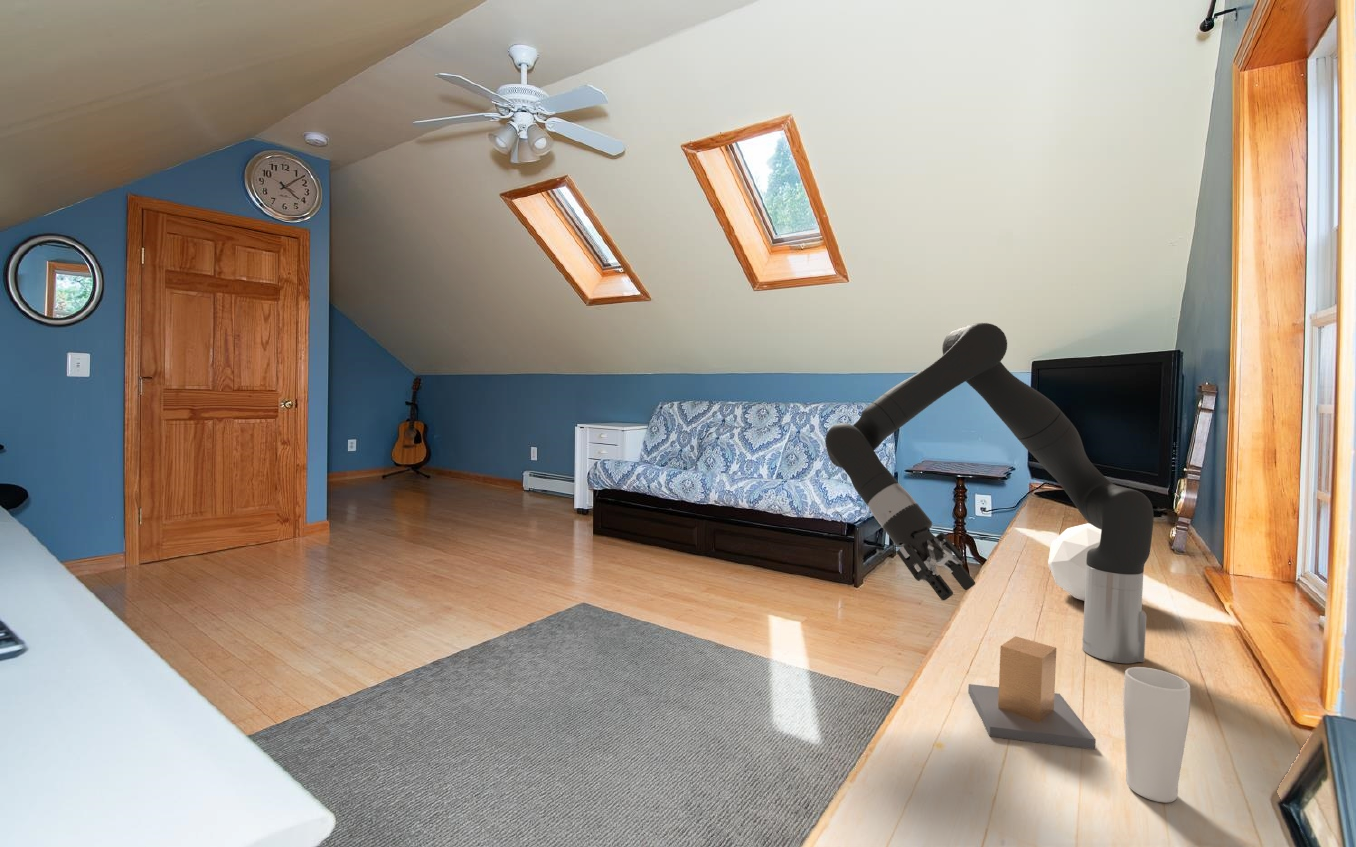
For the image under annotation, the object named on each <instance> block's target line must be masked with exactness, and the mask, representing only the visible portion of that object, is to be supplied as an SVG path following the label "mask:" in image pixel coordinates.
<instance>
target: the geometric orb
mask: <svg viewBox="0 0 1356 847" xmlns="http://www.w3.org/2000/svg"><path fill="white" fill-rule="evenodd" d="M1100 539H1101V529H1099V528H1096V527H1094V526H1093V525H1091V524H1090V523H1089V522H1087V523H1084V524H1079V525H1075V526H1071V527H1068V528H1066V529H1065V530H1064V531H1062V532H1061V533H1060V534H1059V536H1057V537H1056V539H1054V540H1053V541H1052V542H1051V543H1050V549H1049V553H1048V563H1047V567H1048V568H1049V571H1050V573H1051V575H1052V577H1053V579H1054V582H1055V584H1056V585H1057V586H1058V587H1060V588H1061V589H1062V590H1064V591H1065V592H1067V593H1068V594H1070V595H1071V596H1072V597H1073V598H1075V599H1076V600H1077V599H1078V600H1080V601H1084V602H1085V582H1086V560H1087V552H1088V551H1089V550H1090V549H1093V548H1097V547H1098V546H1099V544H1100Z"/></svg>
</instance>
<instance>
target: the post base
mask: <svg viewBox="0 0 1356 847" xmlns="http://www.w3.org/2000/svg"><path fill="white" fill-rule="evenodd" d="M968 695H969V697H970V699H971V701H972V703H973V705H974V708H975V710H976V711H977V713H978V715H979V717H981V718H980V720H981V719H982V720H981V722H982V721H983V722H982V723H983V726H984V728H985V727H986V728H985V730H986V732H987V734H988V735H989V737H991V738H998V739H999V738H1000V739H1007V740H1015V741H1022V742H1031V743H1041V744H1048V745H1055V746H1056V745H1057V746H1065V747H1071V748H1081V749H1088V750H1096V744H1097V742H1096V741H1097V740H1096V739H1097V738H1095V737H1094V735H1093V734H1092V732H1091V731H1090V730H1089V729H1088V728H1087V727H1086V725H1085V724H1084V723H1083V721H1082V720H1081V718H1080V717H1079V716H1078V715H1077V714H1076V712H1075V711H1074V710H1073V709H1072V707H1071V706H1070V705H1069V704H1068V702H1067V700H1065V699H1064V697H1063V695H1061V693H1056V692H1054V710H1053V711H1052V712H1051V713H1050V714H1049V715H1048V716H1047V717H1046V718H1045V719H1044V720H1043V721H1042V722H1041V723H1038V722H1035V721H1032V720H1029V719H1027V718H1024V717H1021V716H1019V715H1016V714H1013V713H1011V712H1008V711H1005V710H1002V709H1000V708H998V699H999V686H993V685H992V686H989V685H983V684H982V685H981V684H972V683H968Z"/></svg>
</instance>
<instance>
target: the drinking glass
mask: <svg viewBox="0 0 1356 847" xmlns="http://www.w3.org/2000/svg"><path fill="white" fill-rule="evenodd" d="M1123 680H1124V681H1123V690H1122V692H1123V693H1122V695H1123V696H1122V698H1123V699H1122V706H1123V709H1122V710H1123V725H1124V729H1123V730H1124V743H1125V744H1124V746H1125V762H1126V763H1125V765H1126V769H1125V781H1126V784H1127V787H1129V788H1130V790H1132V791H1133V792H1134V793H1136V794H1137V795H1139V796H1141V797H1143V798H1145V799H1147V800H1150V801H1153V802H1158V803H1167V804H1168V803H1172V802H1174V801H1176V800H1177V798H1178V795H1179V783H1180V782H1179V781H1180V777H1181V776H1180V775H1181V770H1182V763H1183V758H1184V752H1185V746H1186V741H1187V740H1186V739H1187V735H1188V729H1189V722H1190V715H1191V714H1190V713H1191V685H1190V683H1189V682H1188V681H1187V680H1185V679H1184V678H1182V677H1180V676H1178V675H1176V674H1173V673H1170V672H1168V671H1165V670H1161V669H1158V668H1157V669H1156V668H1151V667H1143V666H1133V667H1132V666H1131V667H1128V668H1126V670H1125V671H1124V679H1123Z"/></svg>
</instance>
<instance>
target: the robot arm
mask: <svg viewBox="0 0 1356 847" xmlns="http://www.w3.org/2000/svg"><path fill="white" fill-rule="evenodd" d="M1007 349H1008V339H1007V336H1006V335H1005V332H1004V331H1003V330H1002V329H1001V328H1000V327H998V326H997V325H995V324H993V323H988V322H977V323H973V324H968V325H965V326H963V327H959V328H957V329H955V330H952V331H951V332H950V333H948V334H947V335H946V337H945V338H944V340H943V343H942V349H941V350H942V355H941V356H940V357H939V358H937V360H935V361H934V362H932V363H931V364H929V365H928V366H927V367H925V368H924V369H922V370H920V371H919V372H917V373H915V374H914V375H912V376H910V377H909V378H907V379H904V380H903V381H901V382H899V383H898V384H896V385H895V386H894V387H891V388H890V389H889V390H887V391H886V392H885V393H883V394H882V395H881V396H879V397H878V398H877V399H875V400H874V401H872V403H870V404H869V405H868V406H866V407H865V408H864V409H863V410H862V413H861V414H860V418H859V419H858V420H857V421H856V422H855V423H854V424H851V423H845V422H841V423H837V424H836V423H835V424H834V425H833V426H831V427H830V428H829V429H828V430H827V433H826V434H825V439H824V442H825V448H826V451H827V455H828V459H829V460H830V461H831V463H832V464H833V465H834V466H835V467H838V468H840V469H843V471H844V472H845V473H846V474H847V475H848V477H849V479H850V481H851V484H852V486H853V488H854V490H855V491H856V492H857V494H858V496H860V497H861V499H862V500H863V502H864V503H865V504H866V506H867V507H868V509H869V510H870V512H871V513H872V516H873V517H874V518H875V520H876V521H877V522H878V524H879V525H880V527H881V528H882V529H883V530H884V531H885V533H886V534H887V536H888V537H889V538H890V539H891V541H892V543H894V544H895V546H896V547H898V548H899V549H897V551H896V554H897V555H898V556H899V558H900V559H901V561H902V562H903V563H904V565H905V566H906V568H907V569H908V571H909V572H910V574H911V575H912V576H913V577H914V579H915V580H916V581H917V582H920V581H921V580H923V581H924V583H928V584H929V585H930V587H931V588H932V590H933V591H934V592H935V594H936V595H937V596H938V597H939V599H940V600H941V601H946V600H948V599H949V598H950V597H952V596H953V595H954V592H953V590H952V588H951V587H950V586H949V585H948V584H947V582H946V581H945V580H944V578H943V577H942V576H941V574H939V572H938V570H937V566H939V567H943V568H945V569H946V570H947V571H949V572H950V573H951V575H952V576H953V578H954V579H955V580H956V581H957V583H958V584H959V586H961V587H962V589H963V590H964V591H968V590H969V589H972V588H973V587H975V585H976V581H975V580H974V579H973V577H972V576H971V575H970V574H969V573H968V571H967V570H966V569H965V568H964V566H963V561H965V557H964V556H963V554H962V553H961V552H960V551H959V550H958V548H957V547H956V546H955V545H954V544H953V542H951V540H950V539H949V537H947V535H945V534H944V533H943V532H940V533H938V534H937V535H934V534H933V532H931V531H930V530H931V528H932V526H933V522H932V520H931V518H930V517H929V516H928V515H927V514H926V512H924V510H923V508H921V506H920V505H919V503H917V501H916V500H915V499H914V498H913V497H912V495H911V494H910V493H909V492H908V490H906V489H905V488H904V487H903V486H902V485H901V484H900V483H899V481H898V480H897V479H896V478H895V477H894V475H893V474H892V473H891V472H890V470H889V469H888V468H886V466H885V465H884V464H883V463H882V461H881V459H879V456H878V455H877V454H876V452H875V451H876V449H877V448H878V447H879V446H880V445H881V444H882V443H883V441H885V440H886V439H887V437H889V436H891V435H892V434H894V433H895V432H896V431H898V430H899V429H901V428H902V427H903V426H904V425H906V424H907V423H908V422H910V421H911V420H912V419H914V418H915V417H916V416H918V415H919V414H920V413H921V412H923V411H924V410H925V409H927V408H928V407H930V406H931V405H932V404H933V403H934V402H936V401H938V400H939V399H941V398H942V397H943V396H945V395H947V393H949V392H951V391H952V390H953V389H955V388H957V387H959V386H960V385H962V384H964V383H967V384H968V385H969V386H970V387H971V388H972V389H974V390H975V392H976V393H978V394H979V395H980V396H981V398H982V399H983V400H984V401H985V402H986V403H987V404H988V406H989V407H990V408H991V409H992V411H993V412H994V413H995V414H996V415H997V416H998V417H999V419H1000V420H1001V421H1002V422H1003V423H1004V424H1005V425H1006V427H1007V428H1008V429H1009V430H1010V431H1011V433H1012V434H1013V435H1014V436H1015V438H1016V439H1017V440H1018V441H1019V442H1020V443H1021V445H1023V447H1024V448H1025V449H1026V450H1027V451H1028V452H1029V453H1030V454H1031V455H1032V456H1033V457H1034V459H1036V460H1037V462H1039V464H1040V465H1041V466H1042V467H1043V469H1045V471H1047V473H1048V474H1050V475H1051V476H1052V478H1054V479H1055V480H1056V481H1057V483H1058V484H1059V485H1060V486H1061V488H1062V489H1063V490H1064V492H1065V493H1066V495H1068V497H1069V499H1070V500H1071V501H1072V503H1073V504H1074V506H1075V507H1076V509H1077V510H1078V512H1079V513H1080V514H1081V516H1082V517H1083V518H1084V519H1085V521H1086V522H1087V523H1089V524H1091V525H1093V526H1094V527H1096V528H1099V529H1101V539H1100V544H1099V546H1098V547H1097V548H1093V549H1090V550H1089V551H1088V552H1087V560H1086V582H1085V601H1084V606H1083V608H1084V609H1083V626H1082V629H1083V630H1082V650H1083V652H1085V653H1086V654H1088V655H1090V656H1092V657H1094V658H1097V659H1100V660H1104V661H1107V662H1112V663H1116V664H1134V663H1145V652H1146V651H1145V650H1146V649H1145V648H1146V631H1147V628H1146V627H1147V613H1146V612H1145V611H1144V610H1143V609H1142V608H1143V592H1144V591H1143V589H1144V570H1145V564H1146V562H1147V561H1148V559H1149V557H1150V554H1151V547H1152V539H1153V538H1152V537H1153V529H1154V519H1155V518H1154V509H1153V505H1152V502H1151V500H1150V499H1149V497H1148V496H1146V494H1144V493H1143V492H1140V491H1139V490H1136V489H1133V488H1130V487H1128V488H1127V487H1124V486H1120V485H1116V484H1114V483H1113V482H1112V481H1110V480H1109V479H1108V478H1107V477H1106V476H1104V474H1102V473H1101V472H1100V470H1098V468H1097V467H1096V466H1095V465H1094V464H1093V463H1092V462H1091V461H1090V459H1089V457H1088V455H1087V454H1086V451H1085V448H1084V447H1085V446H1084V445H1083V441H1082V438H1081V436H1080V433H1079V432H1078V430H1077V428H1076V427H1075V425H1074V424H1073V422H1071V420H1070V419H1069V418H1068V417H1067V416H1066V415H1065V413H1064V412H1063V411H1062V410H1061V409H1060V408H1059V407H1058V406H1057V405H1056V404H1055V403H1054V402H1053V401H1052V400H1050V398H1048V397H1047V396H1045V395H1044V394H1042V393H1041V392H1040V391H1038V390H1037V389H1035V388H1033V387H1032V386H1030V385H1028V384H1027V383H1025V382H1024V381H1022V380H1021V379H1019V378H1018V377H1016V376H1015V375H1014V374H1013V373H1011V371H1010V370H1008V368H1007V367H1006V366H1005V365H1004V364H1003V363H1002V360H1003V359H1004V357H1005V355H1006V353H1007ZM936 565H937V566H936Z"/></svg>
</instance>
